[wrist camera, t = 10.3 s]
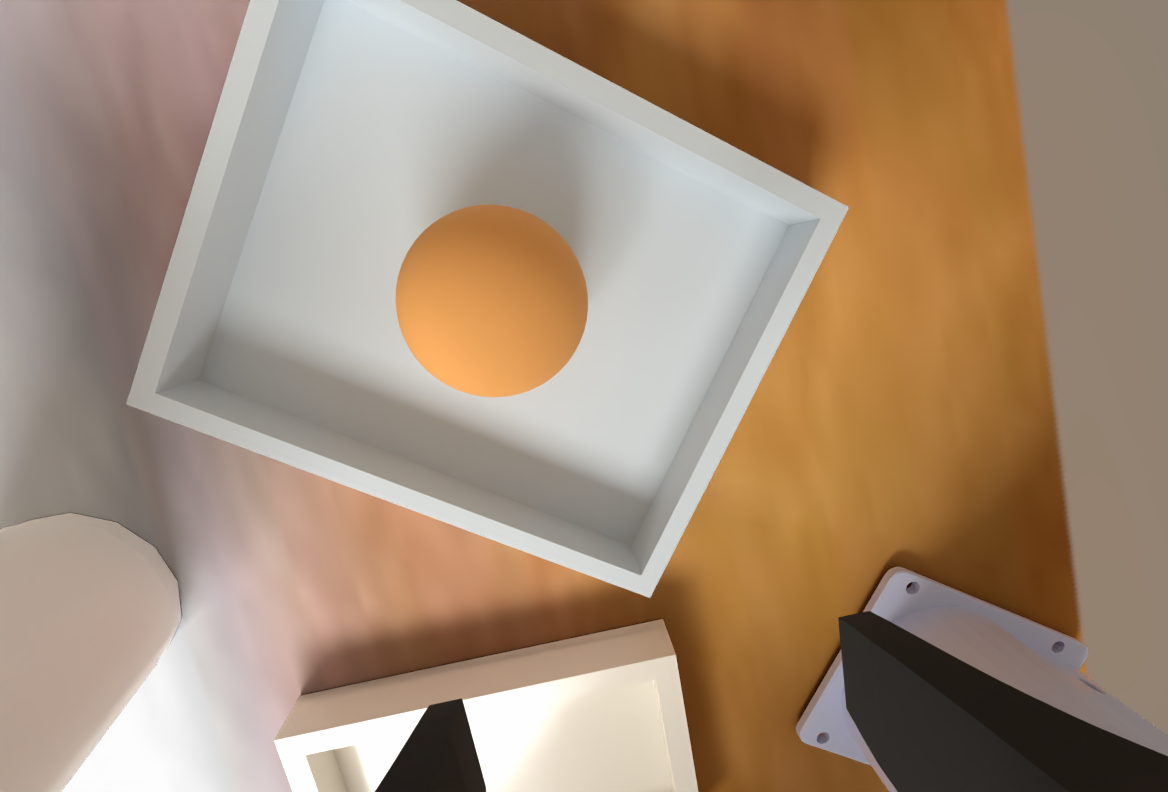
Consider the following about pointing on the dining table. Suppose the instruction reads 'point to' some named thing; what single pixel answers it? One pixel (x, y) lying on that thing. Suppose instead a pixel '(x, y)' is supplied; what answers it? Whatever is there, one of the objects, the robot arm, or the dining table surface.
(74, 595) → the foam cup
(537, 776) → the dish
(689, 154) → the tray
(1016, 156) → the dining table surface
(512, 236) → the ball
